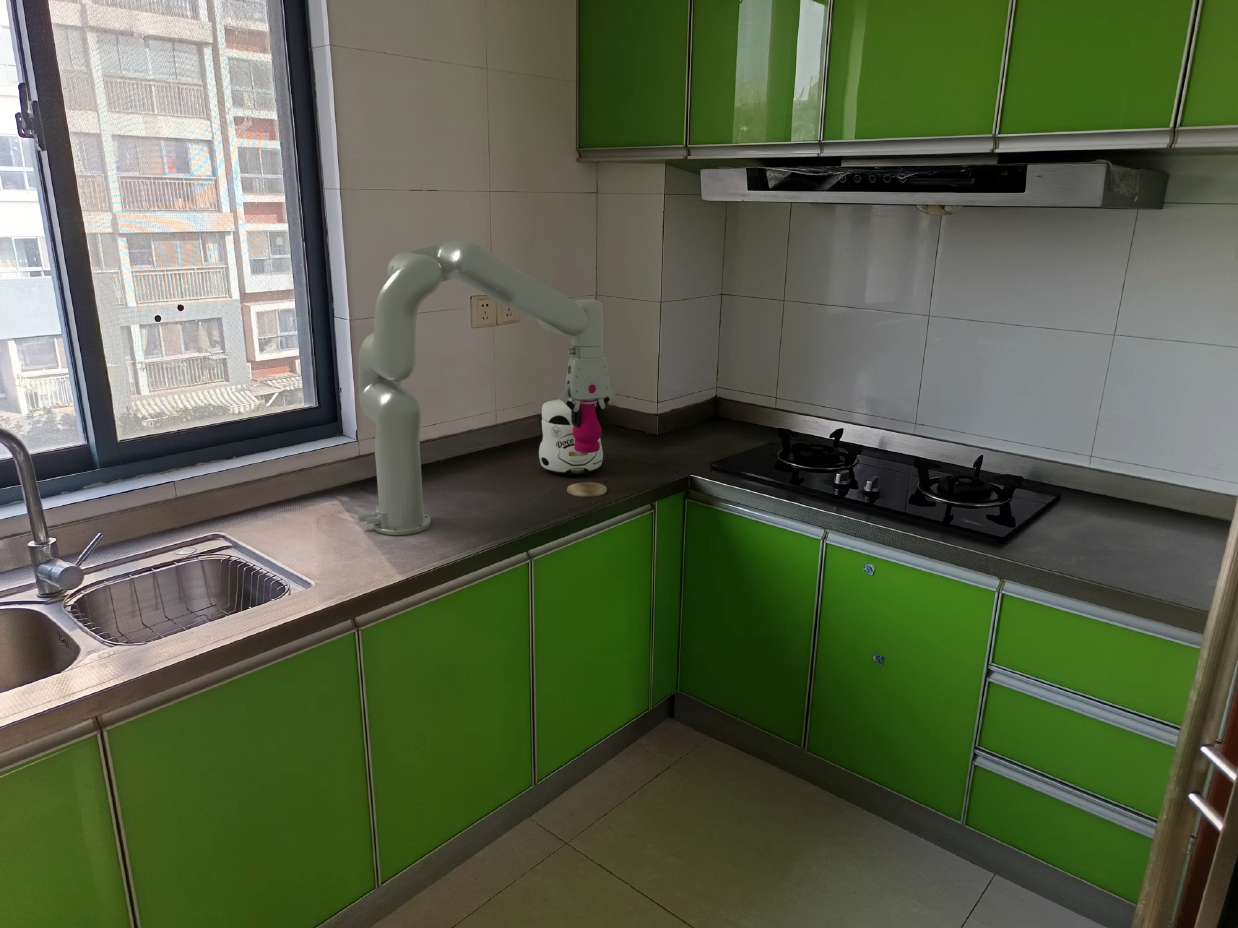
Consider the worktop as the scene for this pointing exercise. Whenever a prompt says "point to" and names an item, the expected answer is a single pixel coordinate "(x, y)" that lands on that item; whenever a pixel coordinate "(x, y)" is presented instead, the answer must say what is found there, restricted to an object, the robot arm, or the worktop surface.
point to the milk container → (563, 443)
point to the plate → (587, 489)
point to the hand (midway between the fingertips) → (587, 424)
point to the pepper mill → (588, 426)
